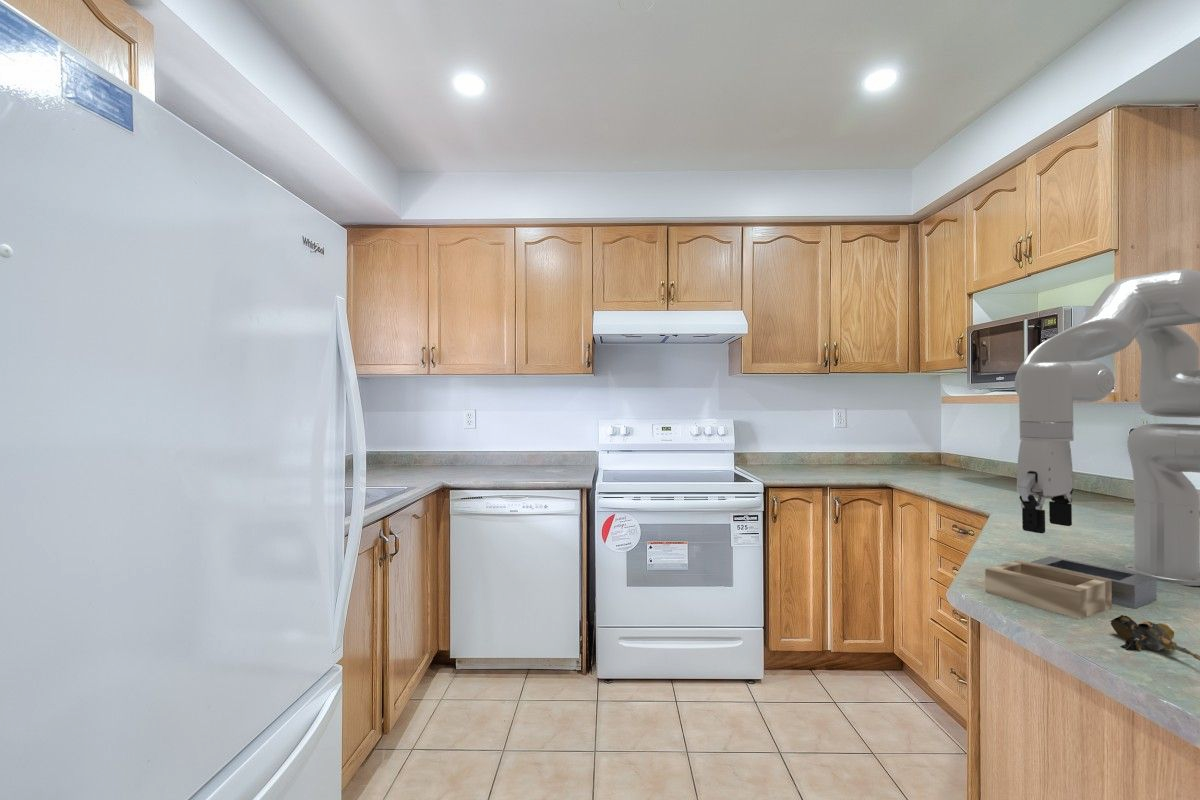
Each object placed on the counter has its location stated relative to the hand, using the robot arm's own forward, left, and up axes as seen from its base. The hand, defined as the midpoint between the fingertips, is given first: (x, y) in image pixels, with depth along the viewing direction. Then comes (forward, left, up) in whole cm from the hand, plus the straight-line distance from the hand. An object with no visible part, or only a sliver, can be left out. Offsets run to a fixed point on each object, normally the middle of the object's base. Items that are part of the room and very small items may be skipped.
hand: (1047, 528), depth 100 cm
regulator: (+17, +24, -11) cm, 32 cm away
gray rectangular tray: (-14, +1, -13) cm, 19 cm away
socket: (0, 0, -13) cm, 13 cm away
